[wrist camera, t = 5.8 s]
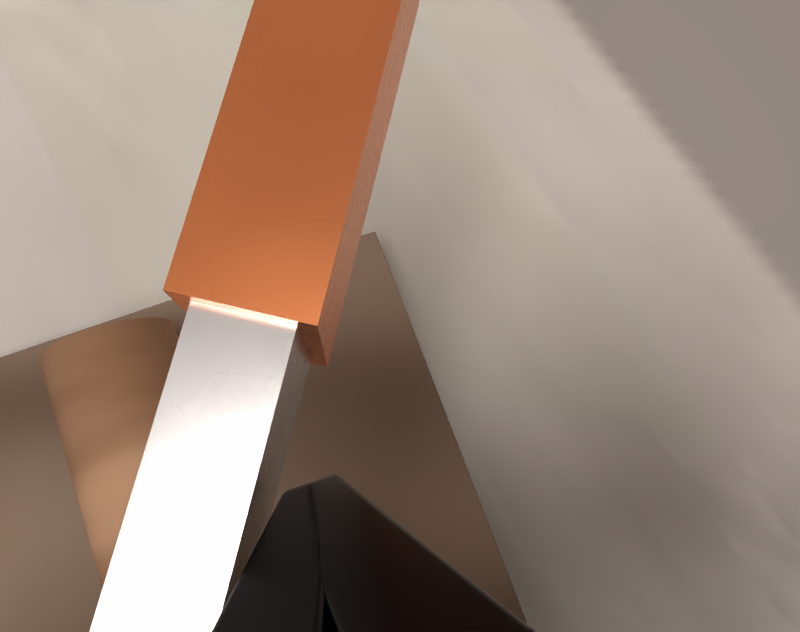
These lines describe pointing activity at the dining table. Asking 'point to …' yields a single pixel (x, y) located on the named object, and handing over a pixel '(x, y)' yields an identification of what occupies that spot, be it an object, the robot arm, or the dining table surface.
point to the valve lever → (255, 298)
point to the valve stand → (305, 462)
